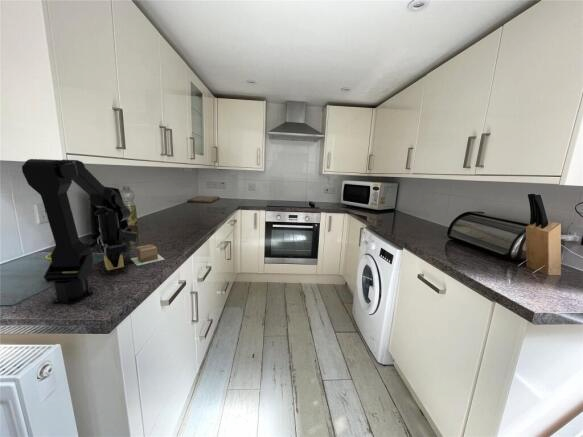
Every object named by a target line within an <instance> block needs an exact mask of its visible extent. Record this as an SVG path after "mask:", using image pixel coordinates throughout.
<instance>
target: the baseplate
mask: <svg viewBox="0 0 583 437" xmlns="http://www.w3.org/2000/svg"><path fill="white" fill-rule="evenodd" d="M130 260H131V261H132V262H133V263H134V264H135V265H136V266H142V265H146V264H150V263H155V262H159V261H163V260H164V261H165V258H164V257H163V256H162V255H160V254H158V259H156V260H152V261H147V262H143V263H141V262H140V261H139V260H138V259H137V256H136V257H132V258H130Z"/></svg>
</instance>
